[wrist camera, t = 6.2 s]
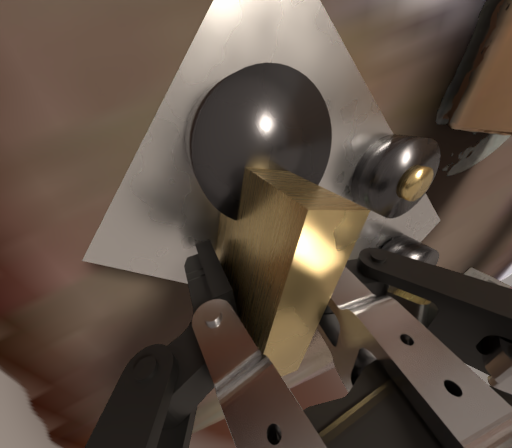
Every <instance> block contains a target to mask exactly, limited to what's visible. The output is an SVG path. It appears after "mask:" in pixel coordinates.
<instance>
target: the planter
mask: <svg viewBox="0 0 512 448" xmlns="http://www.w3.org/2000/svg"><path fill="white" fill-rule="evenodd" d="M478 18H479V19H478V21H477V24H476V27H475V30H474V32H473V35H472V37H471V40H470V42H469V45H468V47H467V49H466V51H465V54H464V56H463V59H462V61H461V63H460V64H459V66H458V69H457V71H456V74H455V76H454V78H453V80H452V82H451V84H450V85H449V86H448V88H447V91H446V93H445V95H444V98H442V101H441V105H440V108H439V109H438V110H437V118H436V122H437V125H438V124H443V125H444V124H447V123H448V125H449V127H451V128H452V129H456V130H465V131H470V132H471V133H472V132H473V133H472V134H474V135H475V134H476V133H477V132H484V133H487V134H488V133H489V134H488V135H490V134H491V135H490V136H489V137H488V136H487V137H488V138H489V139H488V141H487V138H486V137H485V139H483V140H482V139H481V140H480V143H479V144H477V146H476V147H473V148H471V147H469V148H467V149H466V150H465V151H464V153H463V155H461V154H462V152H461V153H460V154H459V155H458V157H459V159H461V160H460V161H459V162H458V163H456V164H455V165H454V166H452V168H451V170H450V171H449V170H448V171H449V172H448V171H447V169H448V168H449V166H450V165H449V166H448V165H447V166H448V168H447V166H446V167H445V168H443V170H444V171H447V172H448V175H447V176H451V175H454V174H457V173H460V172H463V171H465V170H467V169H469V168H470V167H472V166H473V165H475V164H477V163H478V162H480V161H481V160H483V159H484V158H486V157H487V156H488V155H490V154H491V153H492V152H493V151H494V150H496V149H497V148H498V147H499V146H500V145H501V144H502V143H503V142H505V141H506V140H507V139H508V138H509V137H510V136H511V135H512V0H486V2H485V4H484V5H483V8H482V10H481V12H480V14H479V17H478ZM484 133H483V134H484ZM477 142H478V141H477ZM477 142H476V143H477ZM470 148H471V149H470ZM471 151H473V152H472V154H471V155H470V156H469V157H468V158H466V156H467V155H468V154H469V153H470V152H471ZM452 155H453V153H452V154H451V157H452ZM452 164H453V163H452ZM443 170H442V171H443ZM446 174H447V173H446Z"/></svg>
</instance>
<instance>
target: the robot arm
mask: <svg viewBox="0 0 512 448" xmlns="http://www.w3.org/2000/svg"><path fill="white" fill-rule="evenodd" d="M195 246H196V249H197V252H198V254H196V255H193V256H190V257H187V259H186V262H185V265H184V268H185V273H186V277H187V282H188V287H189V292H190V296H191V301H192V306H193V318H192V320H191V323H190V324H189V326H188V328H187V329H186V330H185V331H184V332H183V333H182V334H181V335H180V336H179V337H178V338H176V339H175V340H174V341H173V342H171V343H170V344H169V345H168V346H165V345H162V344H155V345H151V346H149V347H146V348H145V349H143V350H141V351H140V352H139V353H137V354H136V355H135V356H134V357H133V358H132V359H131V360H130V362H129V363H128V364H127V366H126V367H125V369H124V371H123V373H122V375H121V377H120V379H119V381H118V383H117V385H116V387H115V389H114V391H113V393H112V395H111V397H110V399H109V401H108V403H107V405H106V407H105V409H104V411H103V413H102V414H101V416H100V418H99V420H98V422H97V424H96V426H95V428H94V430H93V432H92V434H91V436H90V438H89V440H88V442H87V444H86V446H85V448H189V443H190V439H191V434H192V429H193V424H194V420H195V415H196V410H197V405H198V404H199V403H200V402H201V401H202V400H203V399H204V398H205V397H206V395H207V394H208V393H209V392H210V391H211V390H212V389H213V388H214V387H215V389H216V394H217V397H218V400H219V403H220V405H221V408H222V411H223V413H224V416H225V419H226V422H227V424H228V427H229V429H230V432H231V435H232V437H233V440H234V443H235V446H236V448H512V289H510V288H507V287H504V286H501V285H497V284H494V283H491V282H487V281H484V280H481V279H478V278H474V277H471V276H468V275H465V274H461V273H458V272H455V271H451V270H448V269H445V268H442V267H438V266H435V265H432V264H428V263H425V262H422V261H419V260H415V259H412V258H409V257H406V256H402V255H399V254H396V253H392V252H389V251H386V250H383V249H379V248H366V249H363V250H362V251H361V252H360V253H359V257H358V259H353V260H348V261H347V263H346V265H345V267H344V270H343V272H342V274H341V276H340V278H339V280H338V283H337V285H336V287H335V289H334V291H333V294H332V296H331V298H330V300H329V302H328V305H327V307H326V309H325V311H324V313H323V315H322V318H321V320H320V322H319V324H318V326H317V329H318V331H319V333H320V334H321V336H322V338H323V339H324V341H325V343H326V344H327V346H328V348H329V350H330V352H331V354H332V357H333V362H334V365H335V368H336V370H337V372H338V375H339V376H340V378H341V380H342V382H343V384H344V385H345V387H346V389H347V391H348V392H349V393H348V394H347V395H346V396H345V397H343V398H340V399H337V400H333V401H329V402H325V403H322V404H318V405H314V406H310V407H308V408H306V409H305V410H302V408H301V407H300V405H299V403H298V402H297V400H296V399H295V398H294V396H293V394H292V393H291V391H290V390H289V388H288V386H287V385H286V383H285V382H284V380H283V379H282V377H281V376H280V374H279V373H278V371H277V369H276V368H275V366H274V365H273V363H272V362H271V361H270V359H269V358H268V357H267V356H266V355H263V354H262V353H261V352H260V351H259V349H258V348H257V346H256V345H255V343H254V341H253V340H252V338H251V337H250V335H249V333H248V332H247V330H246V329H245V327H244V325H243V324H242V322H241V321H240V319H239V315H238V310H237V306H236V302H235V298H234V294H233V290H232V288H231V285H230V283H229V281H228V279H227V277H226V275H225V272H224V270H223V268H222V266H221V264H220V261H219V259H218V257H217V255H216V253H215V250H214V248H213V246H212V244H211V242H210V240H209V239H208V240H205V241H202V242H199V243H196V244H195ZM390 286H393V287H395V288H398V289H400V290H403V291H405V292H408V293H411V294H413V295H416V296H418V297H421V298H423V299H426V300H428V301H431V302H430V303H429V304H427V305H421V304H417V303H415V302H412V301H410V300H407V299H405V298H403V297H400V296H398V295H395V294H393V293H390V292H388V290H389V287H390ZM466 364H467V365H470V366H472V367H474V368H476V369H478V370H480V371H482V372H484V373H486V374H488V375H490V376H488V382H489V384H490V385H491V386H489V385H487V384H486V383H485V382H484V381H483V380H482V379H481V378H480V377H479V376H478V375H477V374H475V373H474V372H473V371H472V370H471V369H470V368H469V367H468V366H467V365H466Z"/></svg>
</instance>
